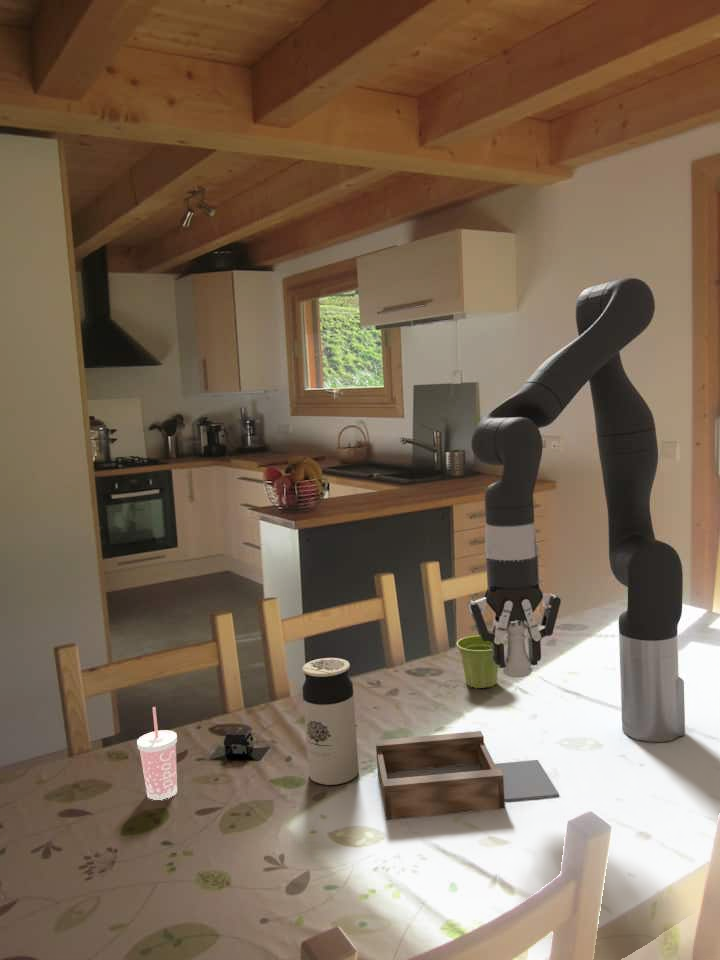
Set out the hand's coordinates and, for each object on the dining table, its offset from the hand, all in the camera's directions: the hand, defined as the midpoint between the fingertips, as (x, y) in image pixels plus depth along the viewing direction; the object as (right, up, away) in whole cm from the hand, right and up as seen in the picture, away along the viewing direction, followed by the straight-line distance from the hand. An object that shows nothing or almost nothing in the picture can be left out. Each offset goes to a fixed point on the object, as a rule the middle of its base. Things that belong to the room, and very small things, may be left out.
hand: (516, 664), depth 117 cm
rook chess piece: (0, -2, 0) cm, 1 cm away
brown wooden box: (-12, -19, +1) cm, 22 cm away
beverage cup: (-54, -22, +5) cm, 59 cm away
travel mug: (-28, -20, +8) cm, 35 cm away
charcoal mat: (+1, -18, +2) cm, 18 cm away
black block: (-44, -20, +18) cm, 52 cm away
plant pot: (+1, -14, +42) cm, 44 cm away
